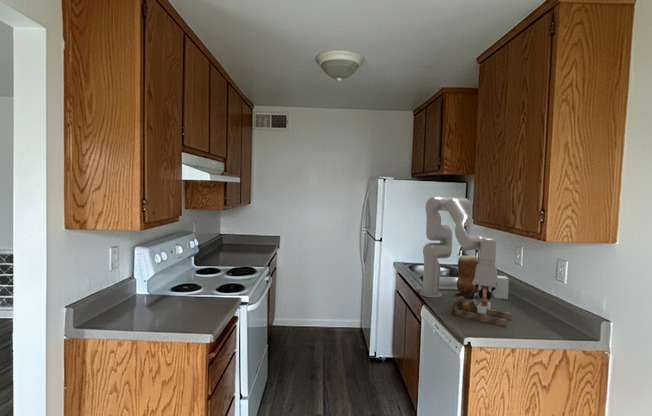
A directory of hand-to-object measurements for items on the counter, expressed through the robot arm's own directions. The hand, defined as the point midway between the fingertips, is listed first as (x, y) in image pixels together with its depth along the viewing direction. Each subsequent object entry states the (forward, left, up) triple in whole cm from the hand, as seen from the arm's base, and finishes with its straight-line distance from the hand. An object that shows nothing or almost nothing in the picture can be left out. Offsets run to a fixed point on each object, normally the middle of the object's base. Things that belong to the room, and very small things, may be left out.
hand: (484, 298), depth 189 cm
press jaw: (0, 0, -9) cm, 9 cm away
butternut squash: (-17, +36, -10) cm, 41 cm away
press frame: (-1, 0, -10) cm, 10 cm away
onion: (-7, 0, -10) cm, 12 cm away
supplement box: (-1, +48, -10) cm, 49 cm away
